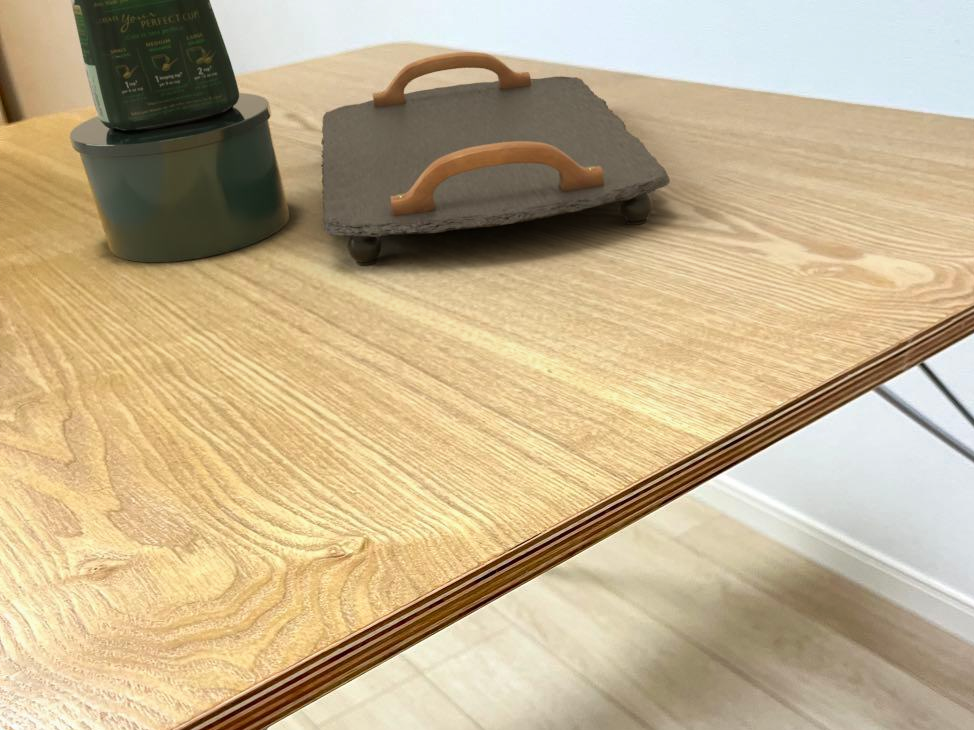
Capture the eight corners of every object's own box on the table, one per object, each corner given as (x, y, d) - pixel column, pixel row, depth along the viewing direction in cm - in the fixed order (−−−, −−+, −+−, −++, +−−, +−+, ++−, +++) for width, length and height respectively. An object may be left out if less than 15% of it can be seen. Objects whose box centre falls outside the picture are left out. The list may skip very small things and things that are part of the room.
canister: (71, 268, 79) (31, 150, 75) (152, 205, 90) (122, 99, 86) (257, 259, 77) (227, 137, 72) (316, 195, 88) (294, 86, 83)
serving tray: (326, 136, 103) (312, 63, 99) (578, 101, 105) (573, 28, 101) (329, 289, 71) (308, 189, 67) (692, 234, 73) (689, 134, 69)
